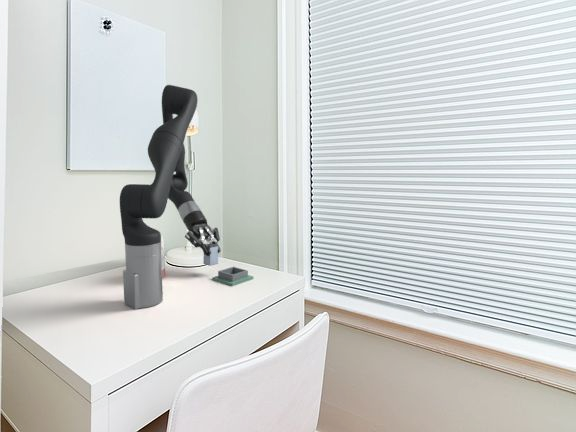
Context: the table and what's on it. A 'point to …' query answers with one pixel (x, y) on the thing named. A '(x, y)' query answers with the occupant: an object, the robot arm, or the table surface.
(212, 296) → the table surface
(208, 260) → the block
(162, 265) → the ink cartridge box
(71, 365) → the table surface
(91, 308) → the table surface
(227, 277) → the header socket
